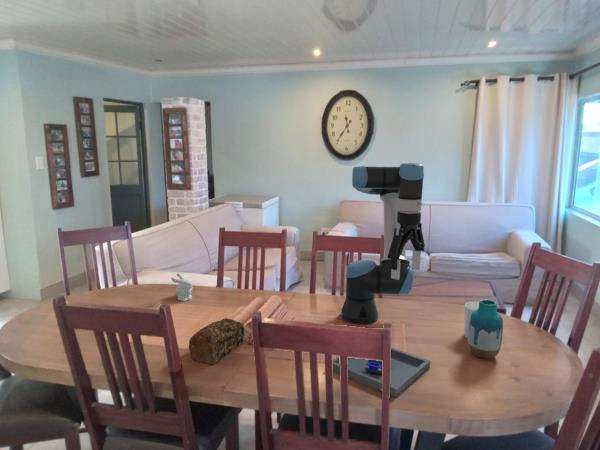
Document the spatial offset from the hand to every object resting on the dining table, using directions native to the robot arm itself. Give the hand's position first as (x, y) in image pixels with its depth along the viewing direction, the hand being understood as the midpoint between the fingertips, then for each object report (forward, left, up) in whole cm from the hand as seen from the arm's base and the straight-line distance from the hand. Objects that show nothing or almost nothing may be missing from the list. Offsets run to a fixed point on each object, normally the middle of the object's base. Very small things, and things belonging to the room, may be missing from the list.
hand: (405, 273), depth 149 cm
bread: (-48, -42, -28) cm, 70 cm away
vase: (+22, +16, -28) cm, 39 cm away
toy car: (0, -15, -28) cm, 32 cm away
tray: (0, -15, -28) cm, 32 cm away
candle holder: (+15, +29, -28) cm, 43 cm away
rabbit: (-100, -19, -28) cm, 105 cm away
